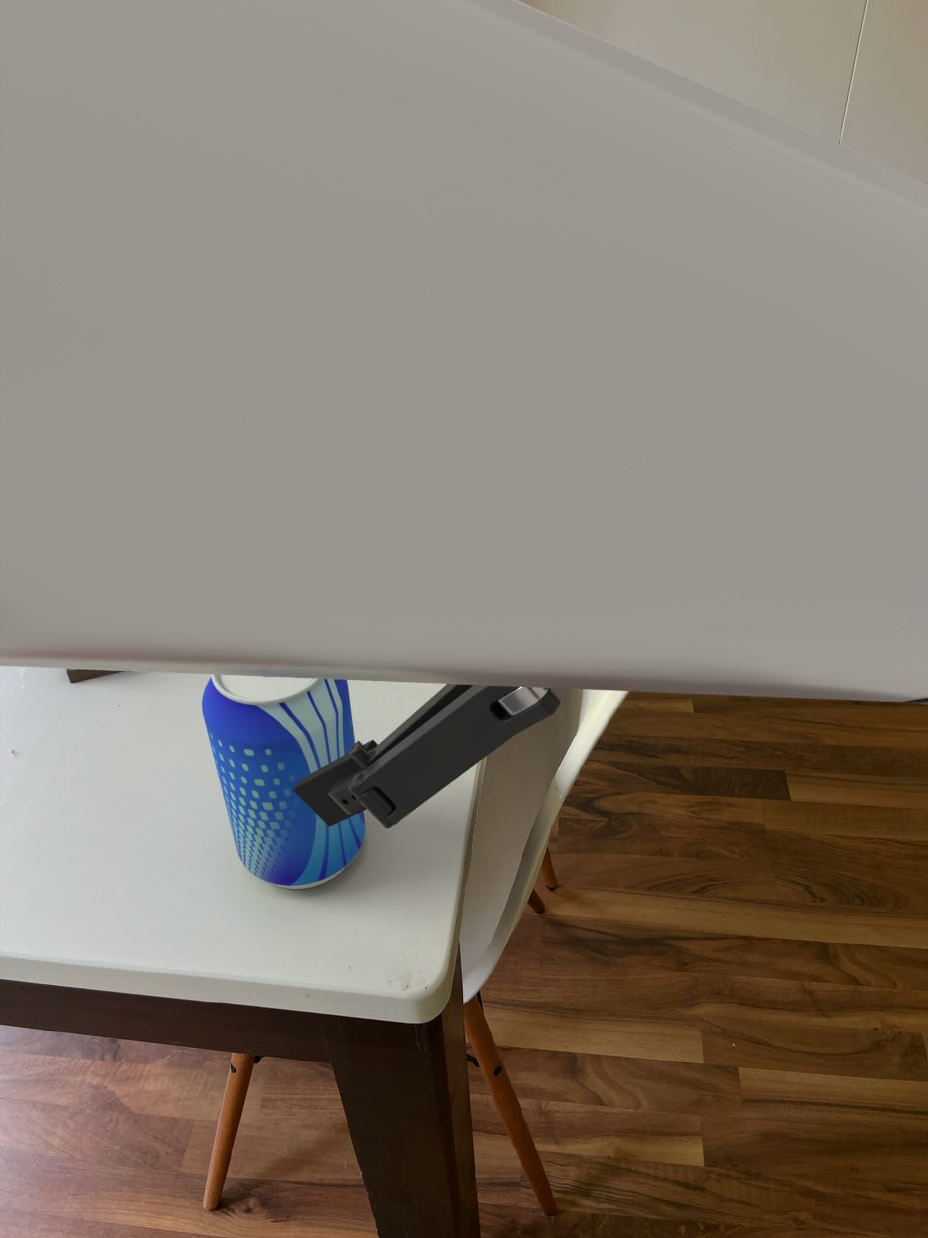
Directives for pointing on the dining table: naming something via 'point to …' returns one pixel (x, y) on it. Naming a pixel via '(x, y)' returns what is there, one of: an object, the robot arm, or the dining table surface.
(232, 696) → the beer can
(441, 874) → the dining table surface
